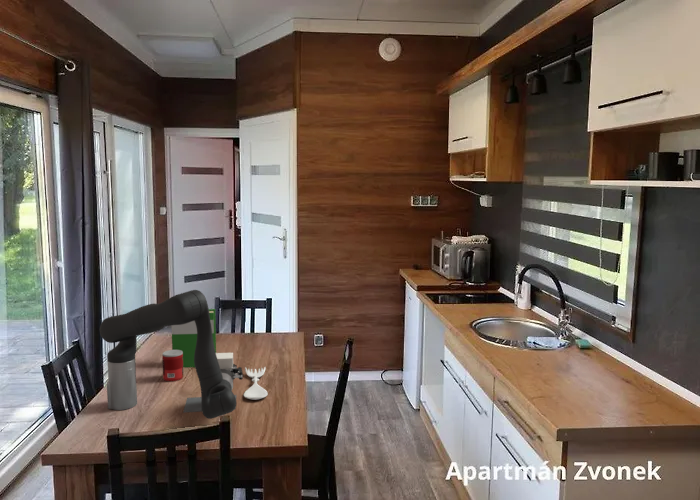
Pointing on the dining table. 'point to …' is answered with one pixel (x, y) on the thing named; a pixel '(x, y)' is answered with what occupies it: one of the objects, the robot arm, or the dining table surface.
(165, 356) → the canned food
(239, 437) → the dining table surface
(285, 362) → the dining table surface
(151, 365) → the dining table surface
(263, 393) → the white piece
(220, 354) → the white rectangular block
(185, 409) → the mat
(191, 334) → the hardback book
